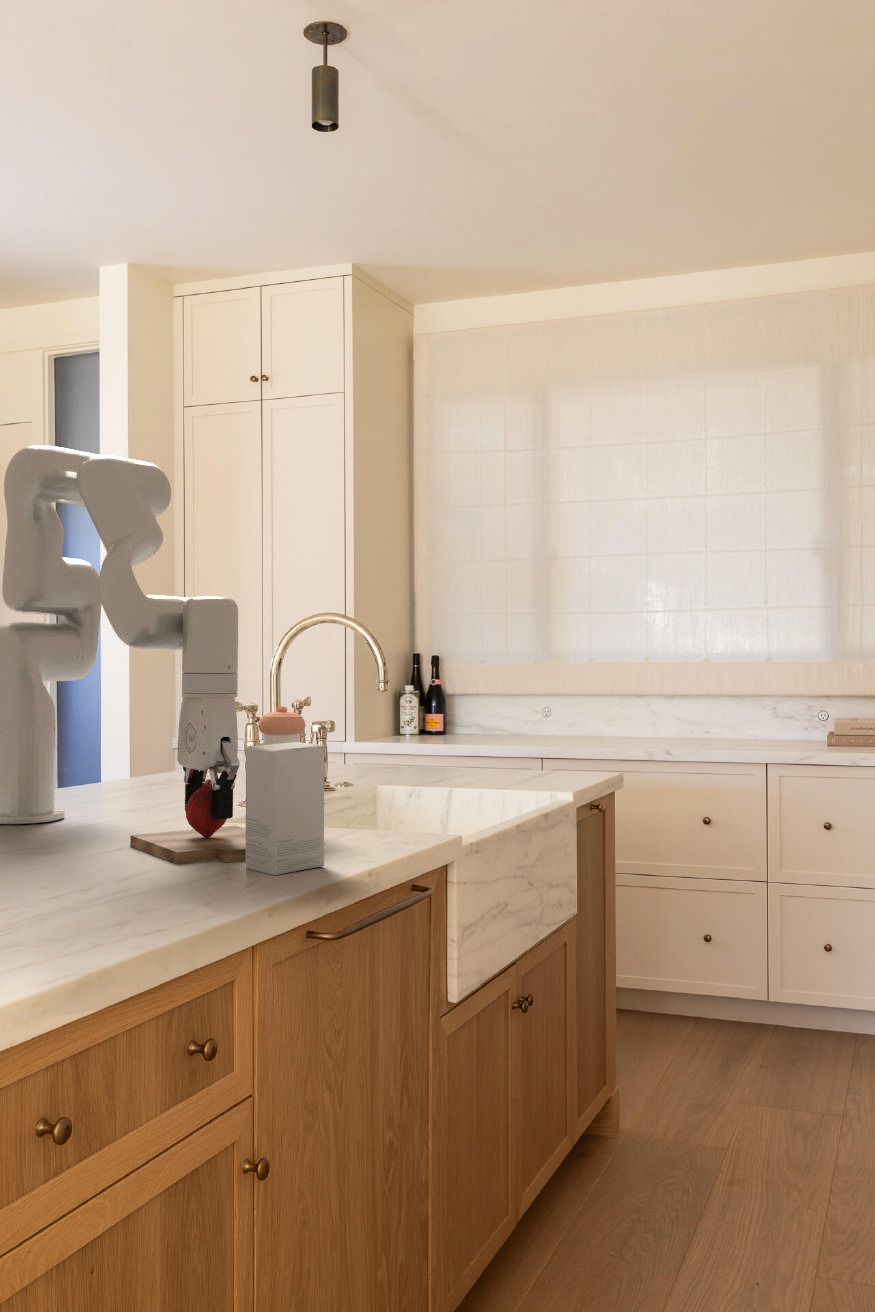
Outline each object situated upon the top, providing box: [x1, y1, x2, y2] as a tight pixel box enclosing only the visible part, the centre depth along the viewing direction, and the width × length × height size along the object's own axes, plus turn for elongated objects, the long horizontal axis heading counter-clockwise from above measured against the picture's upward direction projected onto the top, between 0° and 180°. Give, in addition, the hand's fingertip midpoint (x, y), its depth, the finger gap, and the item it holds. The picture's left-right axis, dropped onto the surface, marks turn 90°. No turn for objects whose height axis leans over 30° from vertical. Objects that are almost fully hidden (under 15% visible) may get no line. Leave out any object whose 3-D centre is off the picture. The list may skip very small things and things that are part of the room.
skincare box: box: [244, 741, 326, 876], centre depth 138 cm, size 8×7×16 cm
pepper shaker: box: [257, 705, 307, 745], centre depth 164 cm, size 7×7×19 cm
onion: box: [185, 778, 228, 837], centre depth 151 cm, size 6×6×8 cm
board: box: [129, 825, 246, 865], centre depth 150 cm, size 18×16×2 cm
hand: (208, 814), depth 151 cm, fingers open, 7 cm apart
